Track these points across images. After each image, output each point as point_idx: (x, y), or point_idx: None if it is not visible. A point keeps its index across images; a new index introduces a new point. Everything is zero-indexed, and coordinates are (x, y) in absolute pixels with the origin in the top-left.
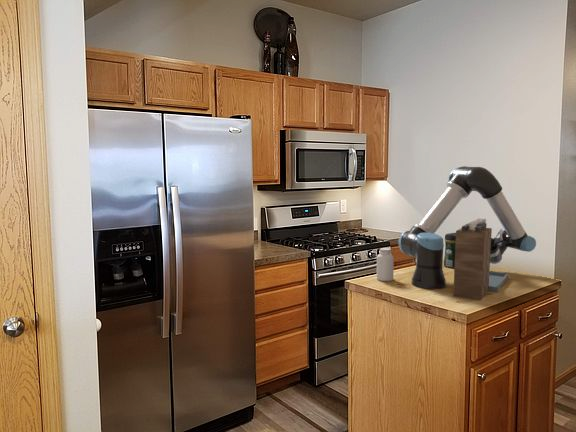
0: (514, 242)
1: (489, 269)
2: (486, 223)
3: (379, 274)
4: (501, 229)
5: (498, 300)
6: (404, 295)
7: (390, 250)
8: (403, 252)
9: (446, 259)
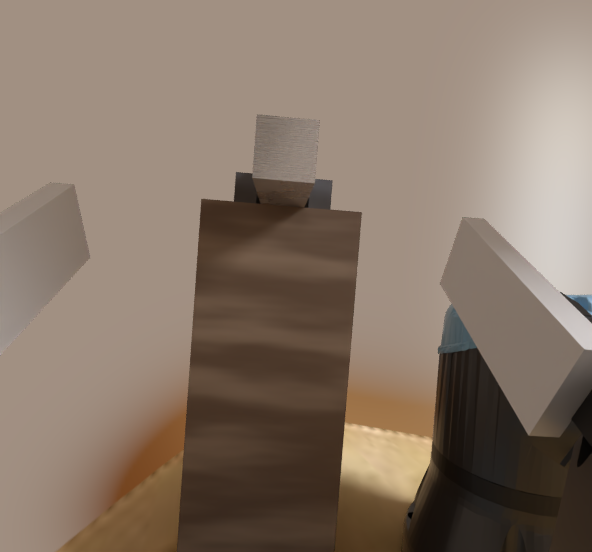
0: None
1: (183, 460)
2: (236, 173)
3: None
4: (54, 185)
5: (145, 496)
6: (428, 446)
7: None
8: None
9: None
